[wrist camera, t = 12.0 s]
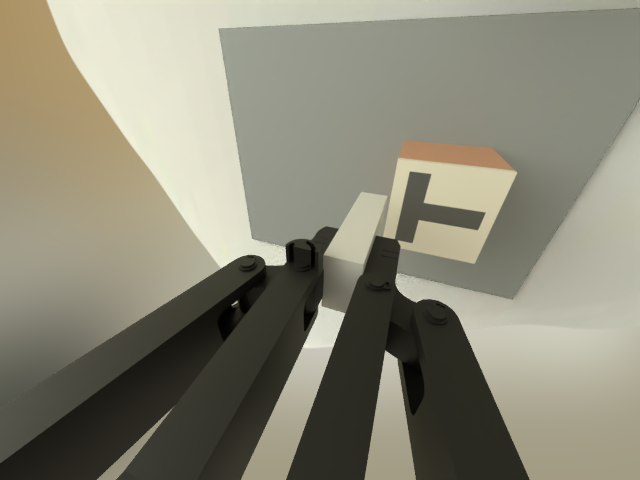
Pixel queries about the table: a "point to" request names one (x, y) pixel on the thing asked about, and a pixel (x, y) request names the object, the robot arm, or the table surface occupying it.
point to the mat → (430, 119)
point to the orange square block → (446, 198)
